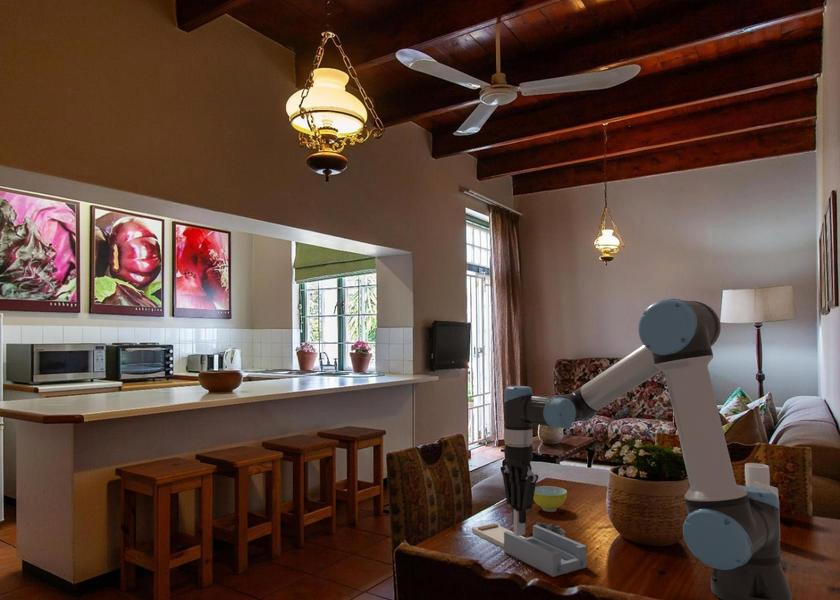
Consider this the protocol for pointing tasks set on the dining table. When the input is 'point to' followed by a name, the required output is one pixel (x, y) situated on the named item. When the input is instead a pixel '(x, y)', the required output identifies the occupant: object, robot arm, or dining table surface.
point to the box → (547, 551)
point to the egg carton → (552, 528)
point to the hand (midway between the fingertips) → (519, 534)
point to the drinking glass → (757, 474)
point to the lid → (492, 533)
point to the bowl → (549, 497)
